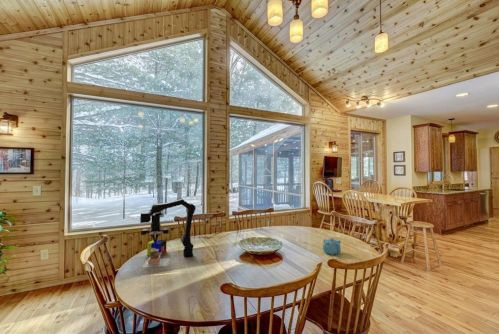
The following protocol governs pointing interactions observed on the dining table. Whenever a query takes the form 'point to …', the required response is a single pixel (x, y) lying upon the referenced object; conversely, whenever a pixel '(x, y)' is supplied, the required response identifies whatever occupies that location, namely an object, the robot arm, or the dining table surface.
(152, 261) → the terracotta base
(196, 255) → the dining table surface
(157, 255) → the walnut cube
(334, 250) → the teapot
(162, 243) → the puzzle toy
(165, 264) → the grey flat slab
